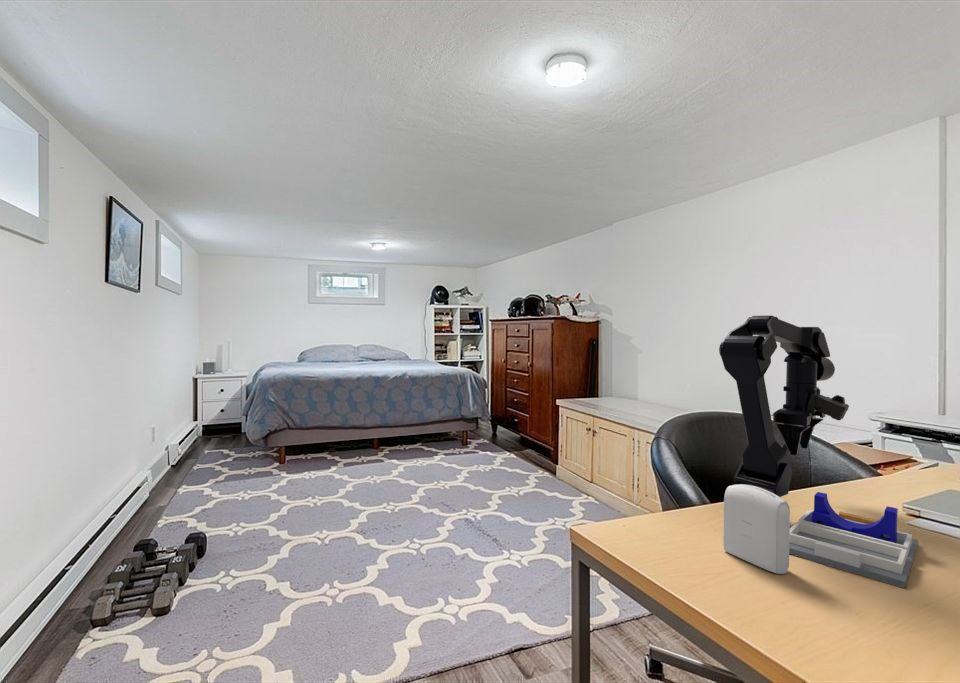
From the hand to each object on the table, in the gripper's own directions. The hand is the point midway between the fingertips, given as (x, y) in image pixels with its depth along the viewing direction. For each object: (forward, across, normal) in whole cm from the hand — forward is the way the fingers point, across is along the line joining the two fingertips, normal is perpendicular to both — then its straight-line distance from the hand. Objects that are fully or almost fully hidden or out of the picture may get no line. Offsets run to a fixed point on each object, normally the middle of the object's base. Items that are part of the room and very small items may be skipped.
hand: (799, 451), depth 107 cm
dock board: (+12, -19, -12) cm, 26 cm away
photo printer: (+12, -37, -2) cm, 39 cm away
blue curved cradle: (+11, -14, -12) cm, 22 cm away
